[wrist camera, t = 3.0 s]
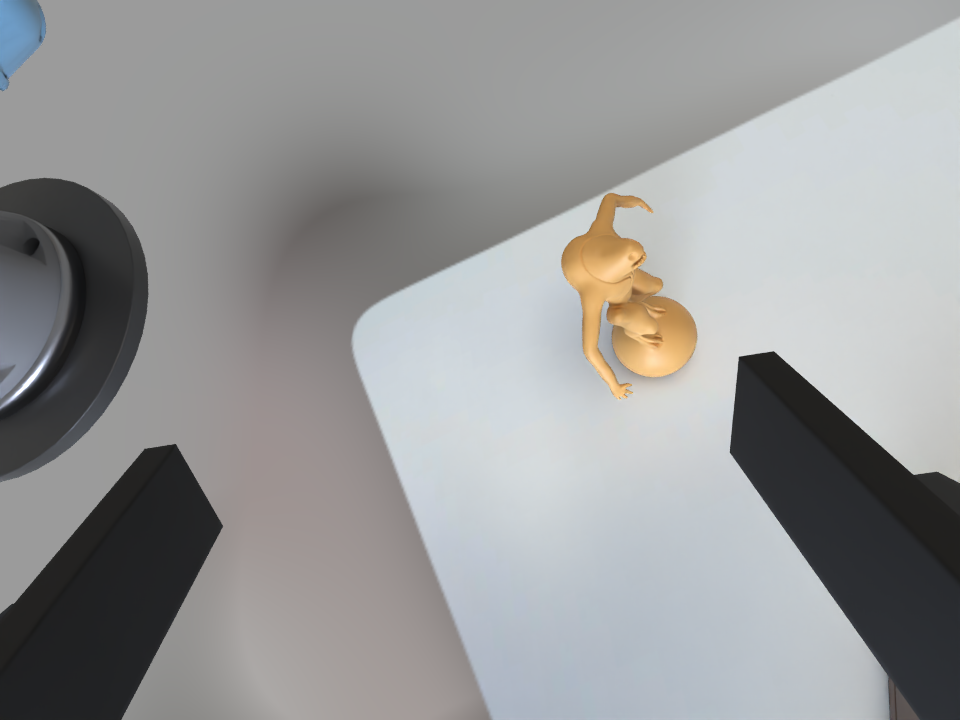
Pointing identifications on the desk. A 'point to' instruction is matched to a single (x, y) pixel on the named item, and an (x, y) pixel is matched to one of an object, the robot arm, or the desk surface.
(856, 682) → the desk surface
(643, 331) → the figurine
